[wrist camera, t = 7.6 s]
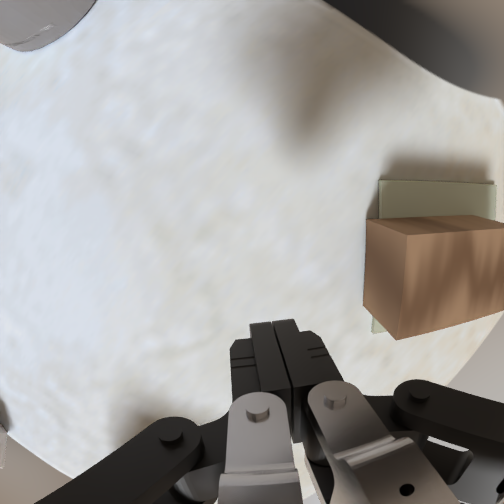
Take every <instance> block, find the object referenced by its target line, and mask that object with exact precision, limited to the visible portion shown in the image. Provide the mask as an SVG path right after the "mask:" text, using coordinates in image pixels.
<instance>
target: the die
mask: <svg viewBox="0 0 504 504" xmlns="http://www.w3.org/2000/svg"><path fill="white" fill-rule="evenodd" d="M6 440H7V432H6V430H5V429H4V428H3V426H2V425H1V424H0V468H4V466H5V451H6Z"/></svg>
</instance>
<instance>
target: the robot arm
mask: <svg viewBox="0 0 504 504" xmlns="http://www.w3.org/2000/svg"><path fill="white" fill-rule="evenodd" d="M94 2H95V0H0V43H1V44H3V45H5V46H7V47H10V48H12V49H14V50H17V51H21V52H26V51H33V50H36V49H40V48H42V47H44V46H46V45H48V44H50V43H52V42H54V41H55V40H57V39H58V38H60V37H61V36H63V35H64V34H65V33H66V32H68V31H69V30H70V29H71V28H72V27H74V26H75V25H76V24H77V23H78V22H79V20H80V19H81V18H82V17H83V16H84V15H85V14H86V13H87V11H88V10H89V9H90V8H91V6H92V5H93V3H94ZM250 337H251V338H248V339H238V340H235V341H234V343H233V345H232V346H231V348H230V364H231V382H232V399H233V400H232V404H231V406H230V408H229V411H228V412H227V413H226V414H225V415H224V416H223V417H221V418H220V419H218V420H216V421H213V422H211V423H207V424H204V425H201V426H197V425H196V424H195V423H194V422H192V421H191V420H189V419H186V418H183V417H167V418H163V419H160V420H158V421H156V422H154V423H152V424H151V425H150V426H148V427H147V428H146V429H144V430H143V431H142V432H140V433H139V434H138V435H136V436H135V437H133V438H132V439H131V440H129V441H128V442H127V443H125V444H124V445H122V446H121V447H120V448H118V449H117V450H115V451H114V452H113V453H111V454H110V455H108V456H107V457H105V458H104V459H103V460H101V461H100V462H98V463H97V464H95V465H94V466H92V467H91V468H89V469H88V470H86V471H85V472H83V473H82V474H80V475H79V476H77V477H76V478H74V479H73V480H72V481H70V482H68V483H67V484H65V485H64V486H62V487H61V488H59V489H57V490H56V491H54V492H52V493H51V494H49V495H48V496H46V497H44V498H43V499H41V500H39V501H38V502H36V503H34V504H214V503H215V501H216V500H217V498H218V504H303V500H302V493H301V486H300V480H299V474H298V470H297V468H296V469H295V464H294V458H293V451H292V444H291V436H292V440H293V444H294V443H300V442H303V446H304V449H305V458H304V460H305V465H306V467H307V470H308V472H309V475H310V478H311V480H312V483H313V485H314V488H315V490H316V493H317V495H318V497H319V500H320V502H321V504H464V503H460V502H459V501H458V500H460V501H463V502H466V503H470V504H504V403H501V402H496V401H493V400H489V399H486V398H482V397H479V396H475V395H472V394H468V393H465V392H462V391H458V390H455V389H452V388H448V387H445V386H442V385H439V384H435V383H432V382H429V381H425V380H418V379H415V380H409V381H405V382H403V383H401V384H400V385H399V386H398V387H397V388H396V389H395V391H394V394H393V396H367V395H363V394H362V393H361V392H360V390H359V389H358V388H357V387H356V386H354V385H352V384H350V383H348V382H344V380H343V378H342V376H341V374H340V373H339V371H338V369H337V367H336V365H335V363H334V361H333V360H332V358H331V356H330V355H329V352H328V350H327V348H325V345H324V343H323V341H322V339H321V337H319V336H318V335H316V334H315V333H313V332H312V331H303V332H299V329H298V327H297V325H296V323H295V321H294V319H287V320H279V321H272V324H271V322H262V323H253V324H250ZM429 436H431V437H434V438H437V439H439V440H442V441H445V442H448V443H451V444H455V445H458V446H461V447H464V448H467V449H469V450H468V451H464V452H462V451H457V450H454V449H451V448H448V447H445V446H442V445H439V444H436V443H433V442H430V441H428V440H427V439H428V437H429Z"/></svg>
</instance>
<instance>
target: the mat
mask: <svg viewBox="0 0 504 504" xmlns="http://www.w3.org/2000/svg"><path fill="white" fill-rule="evenodd" d="M496 194H497V185H491V184H477V183H461V182H440V181H408V180H379V219H384V218H405V217H428V216H455V215H475V216H479V217H483V218H486V219H490V220H494V221H495V217H496ZM386 331H387V330H386V329H385V328H384V327H383V326H382V325H381V324H380V323H379V322H378V321H377V320H376V319H375V318H374V317H373V321H372V330H371V332H372V333H373V334H376V333H381V332H386Z"/></svg>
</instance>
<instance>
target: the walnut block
mask: <svg viewBox="0 0 504 504" xmlns="http://www.w3.org/2000/svg"><path fill="white" fill-rule="evenodd" d="M363 306H364V307H365V308H366V309H367V310H368V311H369V312H370V313H371V314H372V316H373V317H374V318H375V319H376V320H377V321H378V322H379V323H380V324H381V325H382V326H383V327H384V328H385V329H386V330H387V331H388V332H389V333H390V334H391V336H392V337H393V338H394V339H395V340H400V339H404V338H408V337H413V336H417V335H421V334H425V333H429V332H433V331H437V330H440V329H444V328H448V327H451V326H455V325H458V324H462V323H465V322H469V321H472V320H475V319H478V318H482V317H485V316H488V315H491V314H494V313H497V312H500V311H503V310H504V223H501V222H497V221H494V220H490V219H486V218H483V217H479V216H475V215H455V216H428V217H405V218H384V219H366V261H365V282H364V297H363Z"/></svg>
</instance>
